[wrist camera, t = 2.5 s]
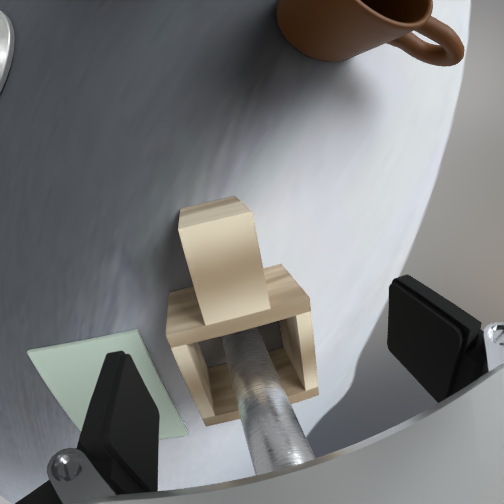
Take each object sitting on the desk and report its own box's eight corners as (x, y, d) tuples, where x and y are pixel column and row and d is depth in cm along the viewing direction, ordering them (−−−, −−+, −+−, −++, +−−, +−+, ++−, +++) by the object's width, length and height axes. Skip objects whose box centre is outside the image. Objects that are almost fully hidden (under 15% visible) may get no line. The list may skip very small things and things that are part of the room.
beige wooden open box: (146, 217, 21) (133, 240, 16) (268, 188, 22) (296, 201, 17) (199, 377, 26) (206, 426, 21) (294, 352, 27) (318, 394, 22)
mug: (408, 44, 20) (483, 22, 12) (386, 108, 22) (470, 101, 13) (293, -27, 17) (342, -88, 8) (257, 36, 19) (302, -24, 10)
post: (215, 316, 25) (271, 533, 8) (251, 306, 25) (345, 510, 8) (224, 344, 26) (280, 547, 9) (258, 336, 26) (342, 527, 9)
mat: (28, 350, 22) (26, 352, 22) (137, 328, 24) (137, 331, 23) (93, 443, 27) (92, 446, 27) (188, 432, 28) (189, 434, 28)
